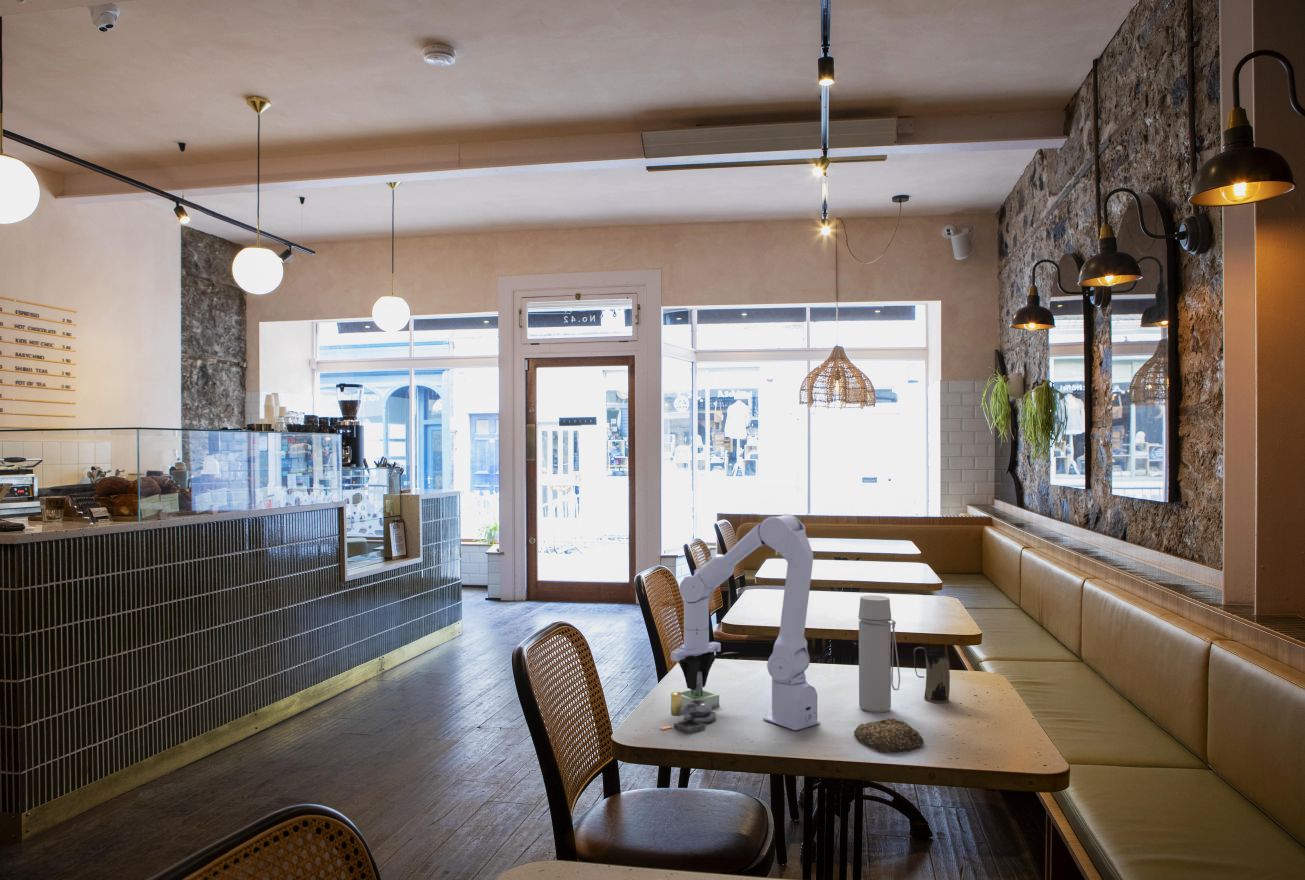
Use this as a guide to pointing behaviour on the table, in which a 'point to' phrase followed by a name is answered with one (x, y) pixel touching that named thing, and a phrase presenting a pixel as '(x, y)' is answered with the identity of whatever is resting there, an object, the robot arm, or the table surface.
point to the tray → (699, 697)
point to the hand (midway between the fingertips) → (696, 687)
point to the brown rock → (889, 736)
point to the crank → (689, 706)
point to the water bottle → (875, 654)
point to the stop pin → (698, 684)
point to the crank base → (693, 723)
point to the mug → (936, 676)
